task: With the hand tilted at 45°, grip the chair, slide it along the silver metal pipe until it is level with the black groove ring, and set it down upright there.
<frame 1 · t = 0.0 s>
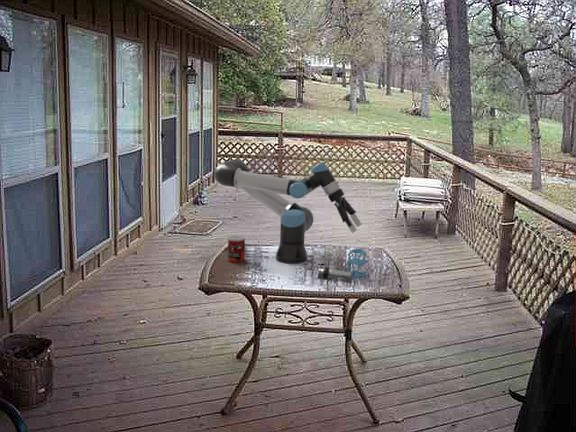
hand: (357, 228, 302), 15 cm above the table, tool tilted 35°, fingers open, 13 cm apart
canned food: (236, 260, 295), on the table
chair: (355, 276, 278), on the table
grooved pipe: (334, 278, 273), on the table
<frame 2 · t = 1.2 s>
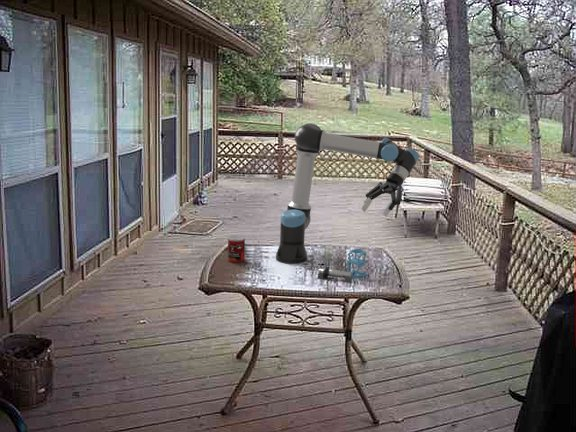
hand: (373, 212, 285), 27 cm above the table, tool tilted 45°, fingers open, 13 cm apart
nothing on the table moved.
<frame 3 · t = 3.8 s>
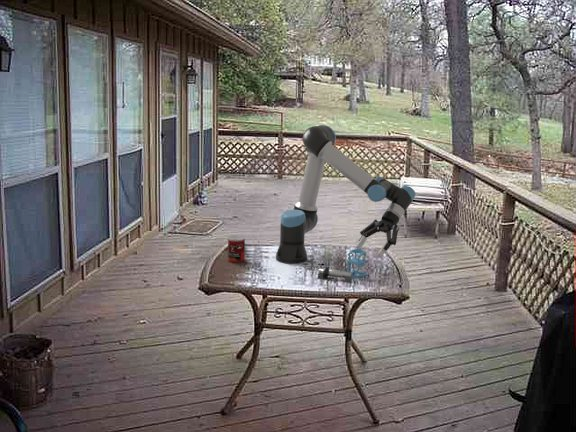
hand: (368, 251, 278), 11 cm above the table, tool tilted 45°, fingers open, 13 cm apart
nothing on the table moved.
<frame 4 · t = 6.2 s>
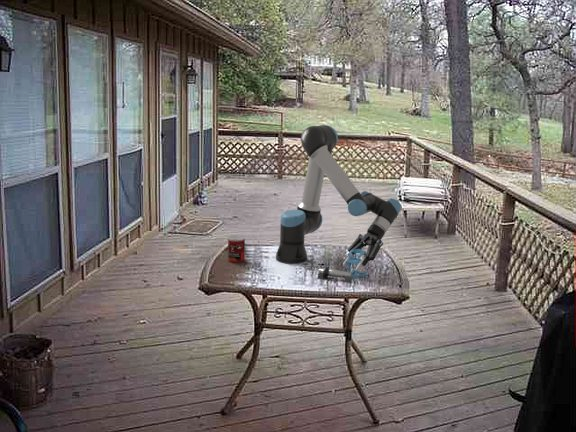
hand: (351, 268, 275), 4 cm above the table, tool tilted 45°, fingers closed on chair, 7 cm apart
chair: (355, 276, 278), on the table, touching gripper
everything else where it was.
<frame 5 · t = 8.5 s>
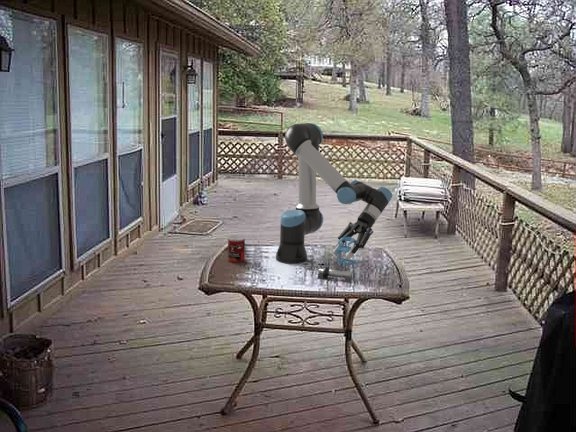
hand: (340, 256, 275), 9 cm above the table, tool tilted 45°, fingers closed on chair, 7 cm apart
chair: (345, 264, 278), point 5 cm above the table, touching gripper
everything else where it was.
when the fingers open (5 cm above the table, at t = 10.8 s): chair drops 1 cm, on the table.
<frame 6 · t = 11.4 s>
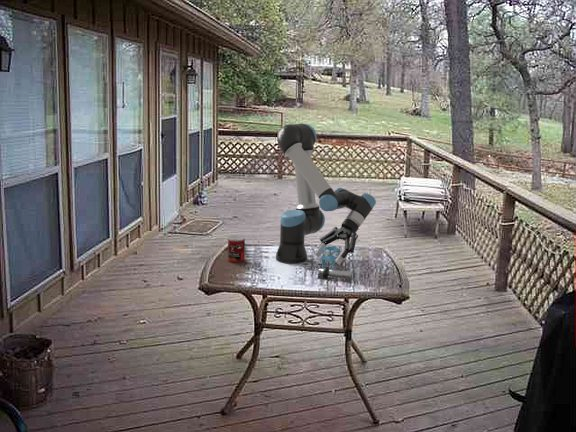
hand: (326, 259, 278), 7 cm above the table, tool tilted 45°, fingers open, 13 cm apart
chair: (329, 273, 281), on the table
everything else where it was.
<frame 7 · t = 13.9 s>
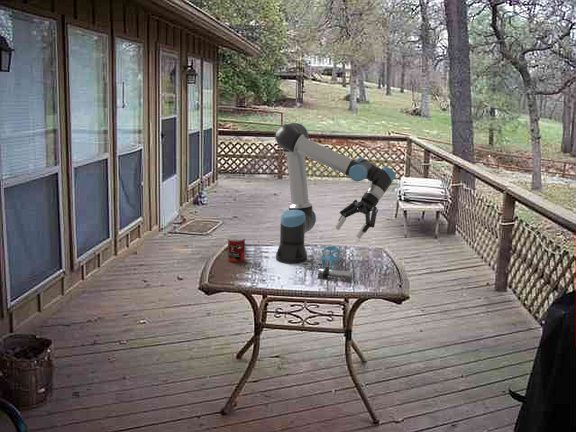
hand: (347, 232, 285), 17 cm above the table, tool tilted 40°, fingers open, 13 cm apart
nothing on the table moved.
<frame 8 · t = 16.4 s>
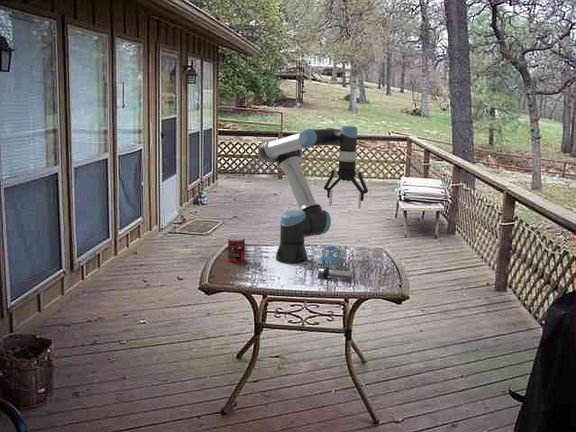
hand: (344, 206, 286), 29 cm above the table, tool pointing down, fingers open, 13 cm apart
nothing on the table moved.
at the end: chair inside the target area (0.1 cm from its centre), on the table; chair tilted 0°; the gripper is holding nothing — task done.
